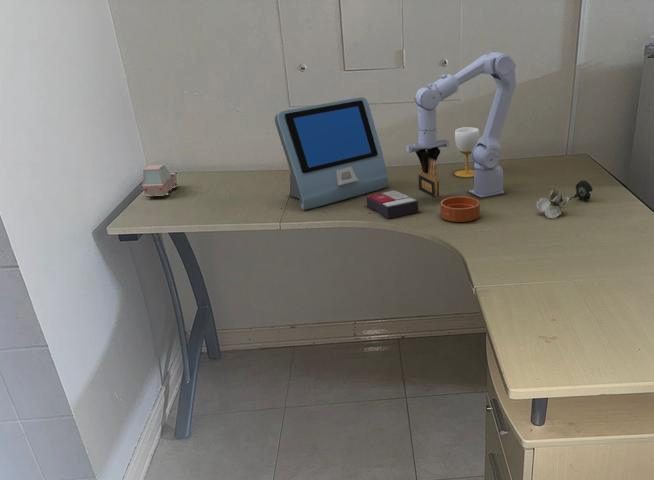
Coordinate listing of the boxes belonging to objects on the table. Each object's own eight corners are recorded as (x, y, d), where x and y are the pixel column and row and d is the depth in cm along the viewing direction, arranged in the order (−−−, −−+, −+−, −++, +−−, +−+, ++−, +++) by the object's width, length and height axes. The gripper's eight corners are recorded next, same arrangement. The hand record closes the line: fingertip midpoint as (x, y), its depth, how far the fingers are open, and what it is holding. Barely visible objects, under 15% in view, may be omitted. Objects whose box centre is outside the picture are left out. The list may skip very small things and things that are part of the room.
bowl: (466, 207, 206) (466, 194, 203) (486, 218, 196) (487, 204, 194) (433, 214, 201) (433, 200, 199) (453, 226, 192) (453, 211, 189)
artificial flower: (596, 206, 207) (604, 179, 200) (548, 230, 197) (554, 203, 190) (575, 193, 212) (583, 166, 204) (527, 216, 201) (533, 189, 194)
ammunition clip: (439, 196, 207) (438, 159, 201) (434, 197, 207) (433, 160, 201) (423, 188, 216) (422, 152, 210) (418, 189, 215) (417, 153, 209)
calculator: (395, 189, 212) (418, 198, 201) (396, 201, 214) (418, 212, 203) (365, 195, 208) (387, 205, 196) (367, 208, 210) (388, 218, 198)
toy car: (182, 186, 235) (176, 158, 230) (169, 199, 222) (162, 170, 217) (156, 187, 235) (150, 159, 230) (142, 200, 222) (134, 171, 217)
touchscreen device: (307, 212, 205) (294, 115, 191) (276, 201, 218) (261, 109, 204) (391, 188, 225) (385, 98, 210) (358, 179, 238) (350, 94, 224)
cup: (451, 172, 241) (451, 128, 233) (473, 169, 243) (474, 126, 235) (459, 178, 234) (459, 133, 225) (482, 175, 236) (483, 131, 228)
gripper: (441, 123, 207) (441, 165, 213) (401, 129, 201) (402, 172, 208) (452, 127, 201) (452, 170, 208) (411, 133, 196) (412, 177, 202)
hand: (428, 171), depth 208 cm, fingers closed on ammunition clip, 1 cm apart
